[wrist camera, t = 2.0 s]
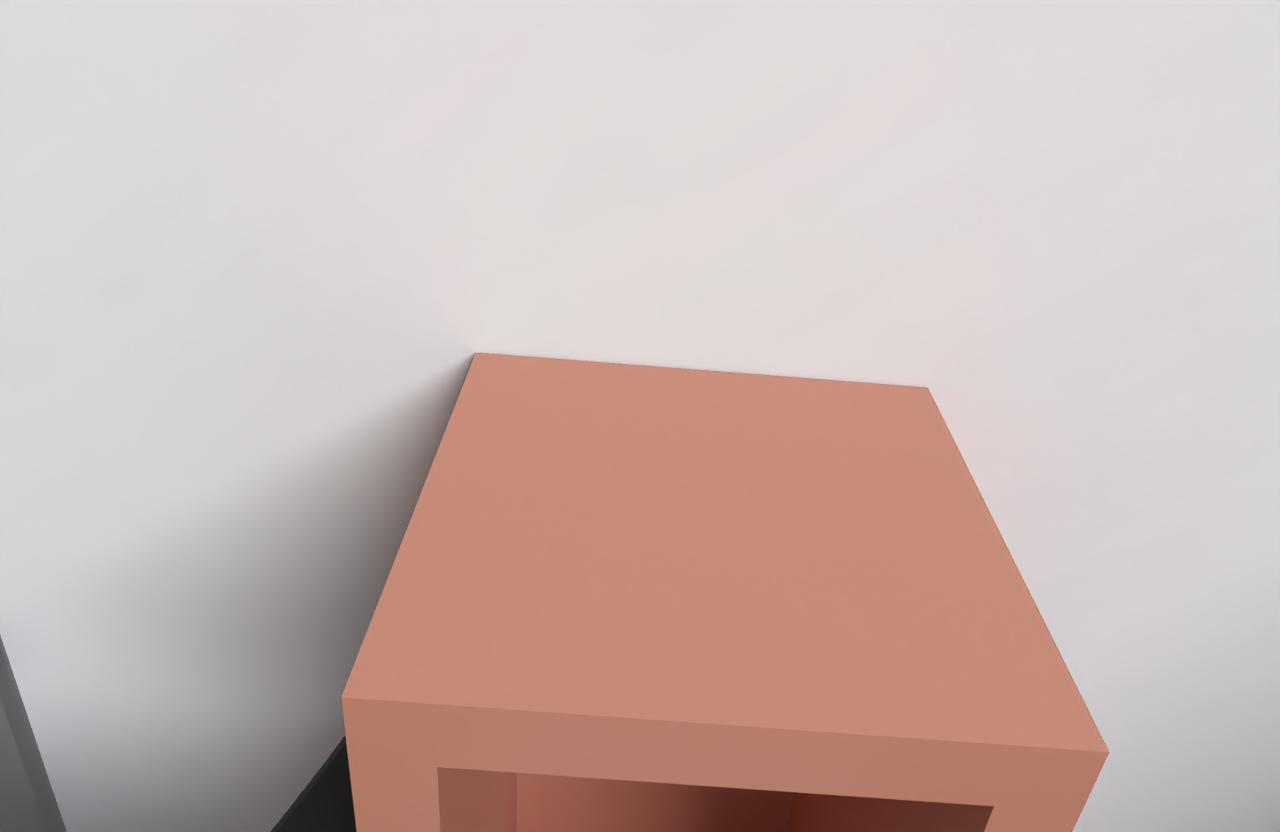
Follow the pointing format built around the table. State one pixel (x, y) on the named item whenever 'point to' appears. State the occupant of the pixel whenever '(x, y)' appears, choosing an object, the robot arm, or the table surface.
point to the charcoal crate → (22, 766)
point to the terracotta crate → (707, 620)
